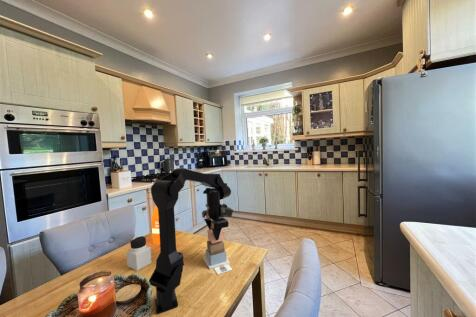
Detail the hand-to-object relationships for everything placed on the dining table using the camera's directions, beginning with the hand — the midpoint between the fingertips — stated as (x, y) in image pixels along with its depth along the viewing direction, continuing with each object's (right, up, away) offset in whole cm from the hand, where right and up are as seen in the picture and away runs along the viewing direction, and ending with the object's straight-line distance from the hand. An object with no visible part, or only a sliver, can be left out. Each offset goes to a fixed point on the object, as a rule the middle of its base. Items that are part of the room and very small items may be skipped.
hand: (215, 237), depth 89 cm
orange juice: (-31, -11, +23) cm, 40 cm away
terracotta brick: (0, -1, 0) cm, 1 cm away
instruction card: (+4, -11, -6) cm, 13 cm away
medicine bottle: (-33, -12, +1) cm, 36 cm away
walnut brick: (0, -6, 0) cm, 6 cm away
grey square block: (+1, -11, +1) cm, 11 cm away
